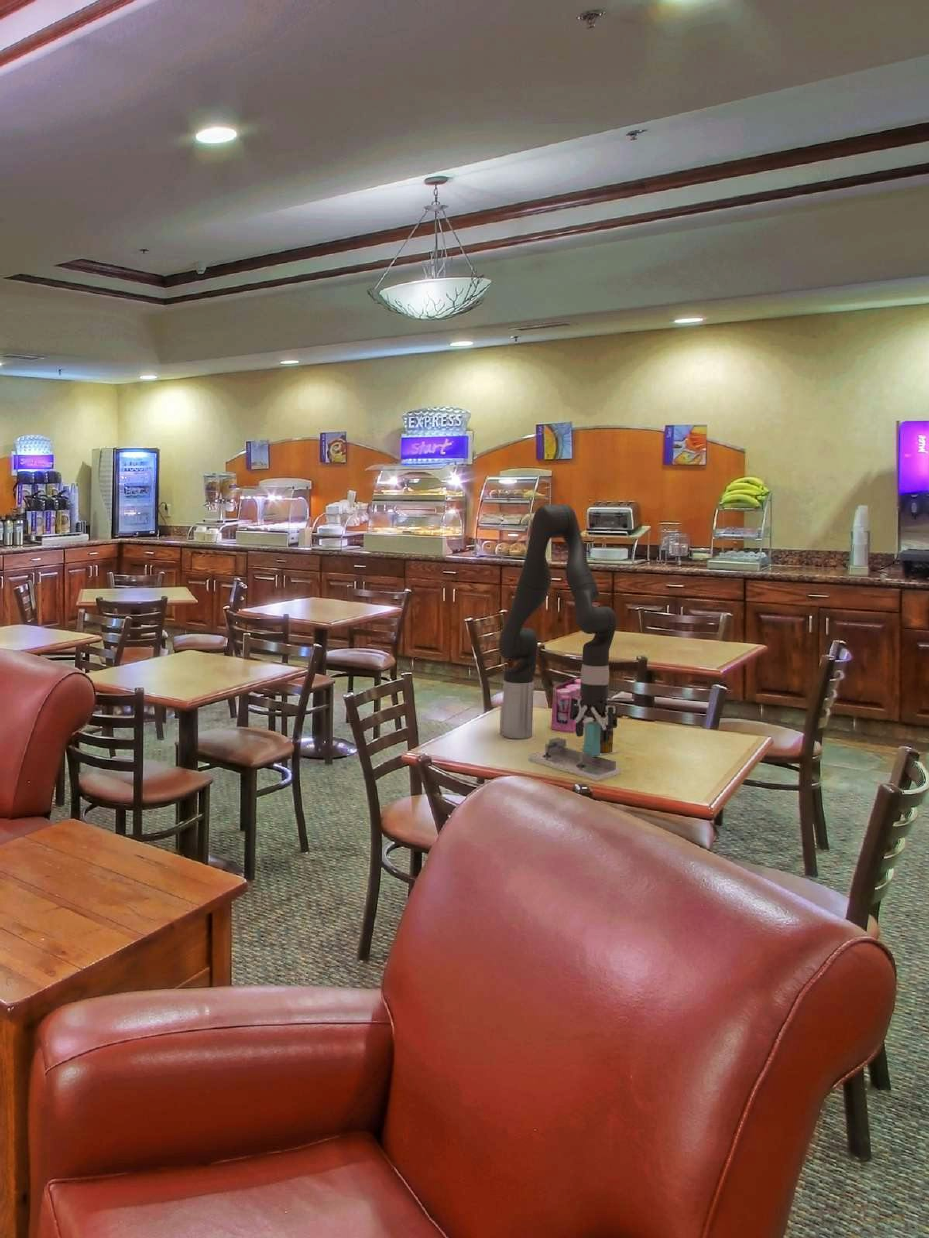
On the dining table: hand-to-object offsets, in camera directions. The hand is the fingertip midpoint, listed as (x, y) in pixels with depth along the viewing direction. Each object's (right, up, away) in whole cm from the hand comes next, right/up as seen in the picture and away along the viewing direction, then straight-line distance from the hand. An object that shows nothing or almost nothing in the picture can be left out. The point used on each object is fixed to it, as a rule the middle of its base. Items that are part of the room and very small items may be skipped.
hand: (592, 739), depth 240 cm
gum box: (+2, -2, +49) cm, 49 cm away
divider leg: (-1, -6, 0) cm, 6 cm away
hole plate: (-5, -8, +2) cm, 9 cm away
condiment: (+5, -6, +18) cm, 20 cm away
